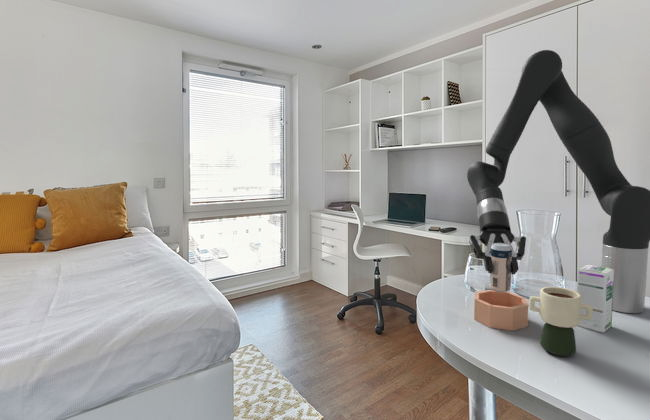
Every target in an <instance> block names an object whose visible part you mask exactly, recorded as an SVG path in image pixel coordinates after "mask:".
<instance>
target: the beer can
mask: <svg viewBox="0 0 650 420" xmlns="http://www.w3.org/2000/svg"><path fill="white" fill-rule="evenodd" d="M490 257H491V260H492V267H493V271H492V273H489V283H488V284H489V287H488V288H490V290H493V291H496V292H510V291H511V283H512V274H511V261H512V248H511V246H510V245H509V244H506V243H494V244H493V245H492V246H491V253H490Z"/></svg>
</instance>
